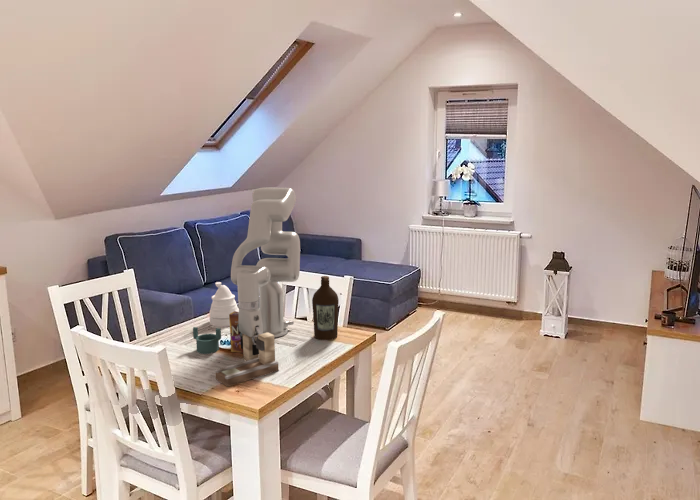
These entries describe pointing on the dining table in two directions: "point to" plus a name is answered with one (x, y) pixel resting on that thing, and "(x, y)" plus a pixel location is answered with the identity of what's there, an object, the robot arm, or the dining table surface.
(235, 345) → the candy box
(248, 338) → the tan block
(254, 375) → the rail
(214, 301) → the honey pot
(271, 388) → the dining table surface
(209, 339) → the green cup
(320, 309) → the olive oil
